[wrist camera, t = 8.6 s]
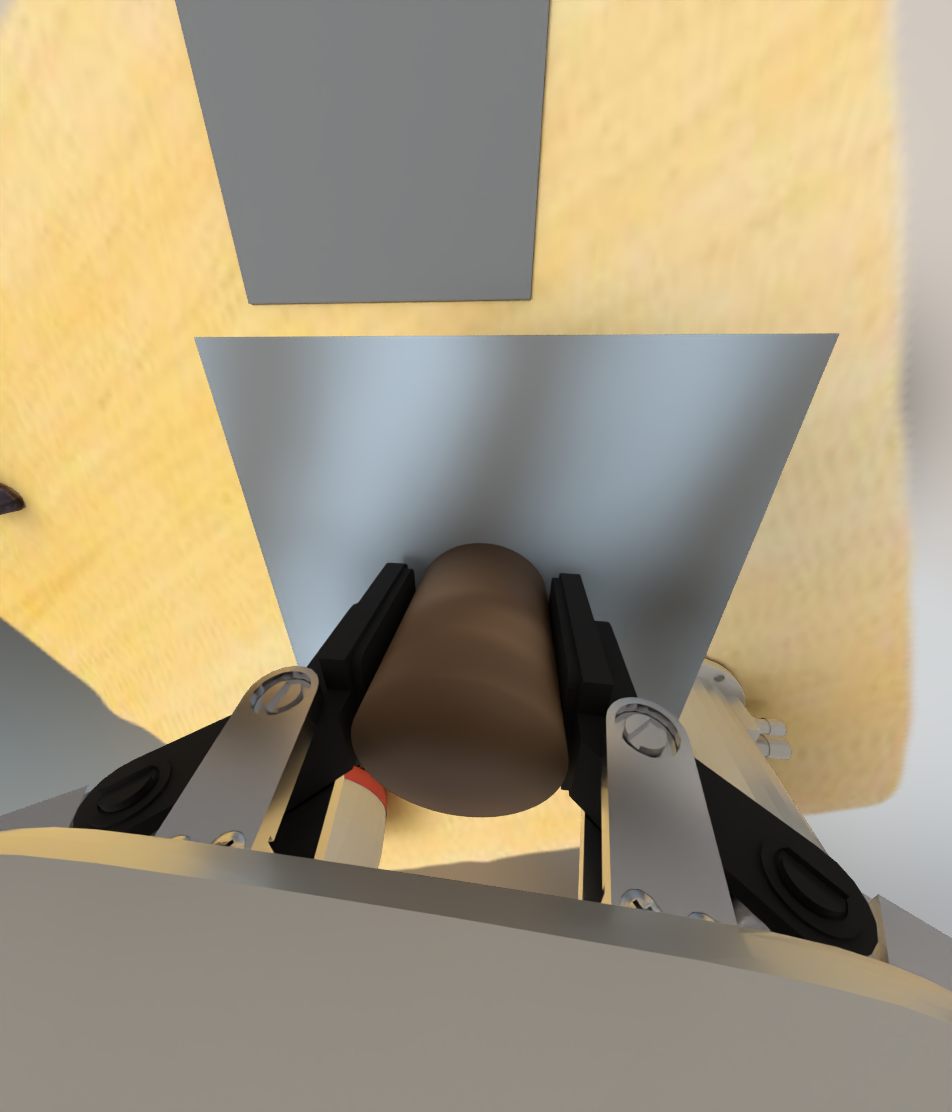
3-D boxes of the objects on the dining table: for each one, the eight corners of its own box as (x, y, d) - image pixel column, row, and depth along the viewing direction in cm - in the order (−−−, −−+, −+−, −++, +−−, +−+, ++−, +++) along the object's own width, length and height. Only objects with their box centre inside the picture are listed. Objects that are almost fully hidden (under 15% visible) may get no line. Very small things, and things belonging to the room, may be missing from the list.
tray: (559, -159, 14) (560, -173, 13) (530, 300, 21) (530, 298, 20) (156, -100, 16) (148, -110, 15) (252, 304, 22) (248, 303, 22)
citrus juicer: (270, 737, 45) (107, 970, 27) (400, 759, 44) (319, 1017, 26) (290, 802, 52) (171, 1020, 34) (401, 823, 51) (339, 1058, 33)
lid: (795, 339, 8) (1429, 253, 2) (650, 734, 14) (730, 955, 9) (231, 342, 9) (-190, 289, 4) (330, 701, 16) (229, 875, 10)
